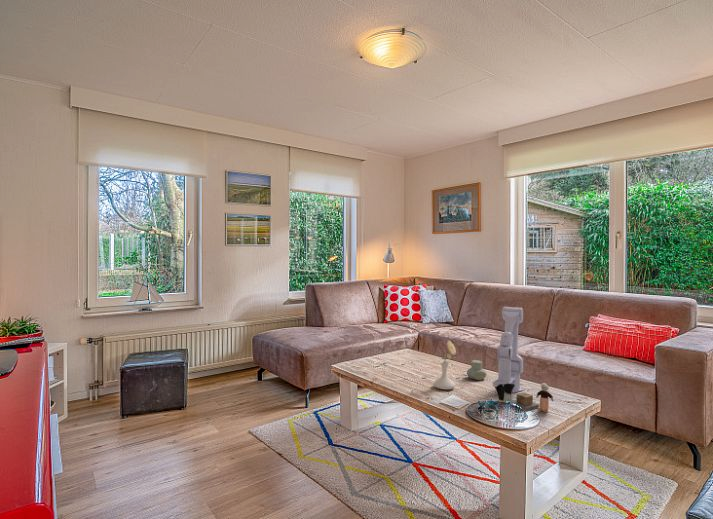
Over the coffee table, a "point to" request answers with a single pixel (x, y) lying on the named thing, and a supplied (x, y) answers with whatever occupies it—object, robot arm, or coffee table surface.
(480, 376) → the air freshener
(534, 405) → the plinth
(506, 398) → the sage block
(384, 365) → the coffee table surface
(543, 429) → the coffee table surface
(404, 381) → the coffee table surface
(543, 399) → the grandmother figurine
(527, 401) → the walnut block
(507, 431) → the coffee table surface
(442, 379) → the flower in vase
